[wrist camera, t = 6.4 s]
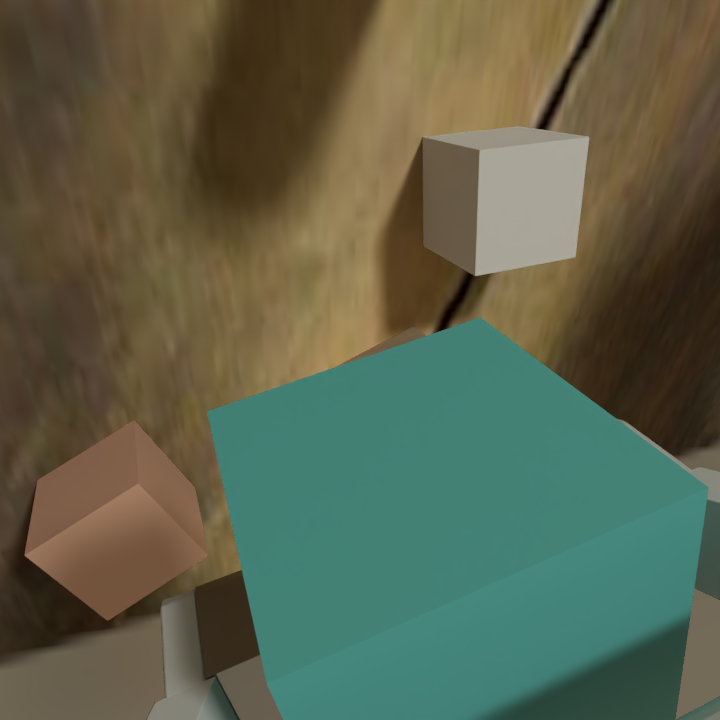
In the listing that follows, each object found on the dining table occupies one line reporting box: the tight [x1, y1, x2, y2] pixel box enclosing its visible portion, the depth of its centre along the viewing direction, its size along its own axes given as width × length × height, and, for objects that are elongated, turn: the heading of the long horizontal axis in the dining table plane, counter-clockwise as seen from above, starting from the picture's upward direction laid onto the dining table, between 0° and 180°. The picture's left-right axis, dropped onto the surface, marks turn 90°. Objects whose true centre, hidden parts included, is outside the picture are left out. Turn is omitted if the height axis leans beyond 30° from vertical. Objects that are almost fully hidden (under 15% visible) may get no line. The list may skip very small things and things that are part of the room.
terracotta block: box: [24, 421, 208, 621], centre depth 27 cm, size 5×5×5 cm
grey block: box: [423, 126, 589, 276], centre depth 27 cm, size 5×5×5 cm
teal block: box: [207, 318, 709, 720], centre depth 9 cm, size 5×5×5 cm
